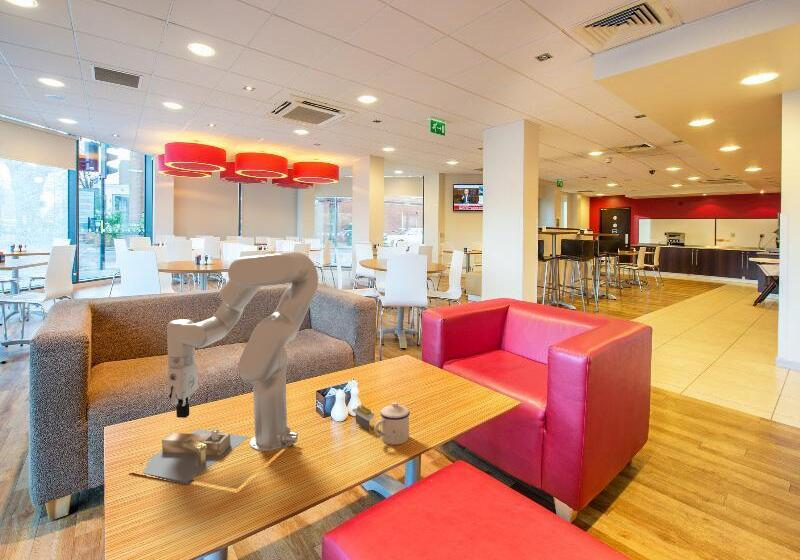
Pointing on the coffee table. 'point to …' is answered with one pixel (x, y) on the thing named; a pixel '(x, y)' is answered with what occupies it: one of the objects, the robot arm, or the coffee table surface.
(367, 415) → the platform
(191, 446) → the keeper
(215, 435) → the pintle
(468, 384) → the coffee table surface
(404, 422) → the teacup with lid
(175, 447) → the link
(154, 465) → the board
